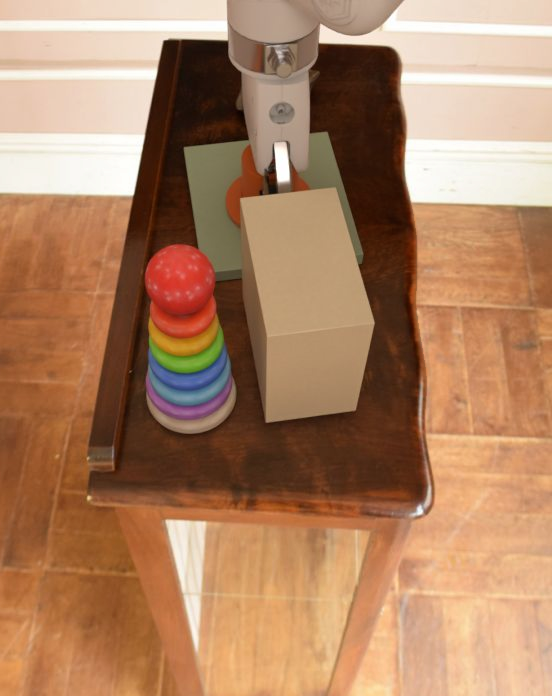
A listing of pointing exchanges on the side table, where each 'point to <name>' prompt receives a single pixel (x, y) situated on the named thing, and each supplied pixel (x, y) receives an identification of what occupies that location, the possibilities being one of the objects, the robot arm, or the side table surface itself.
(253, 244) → the tall cardboard box
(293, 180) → the hat
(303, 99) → the robot arm
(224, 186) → the stand board
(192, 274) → the stacking toy
